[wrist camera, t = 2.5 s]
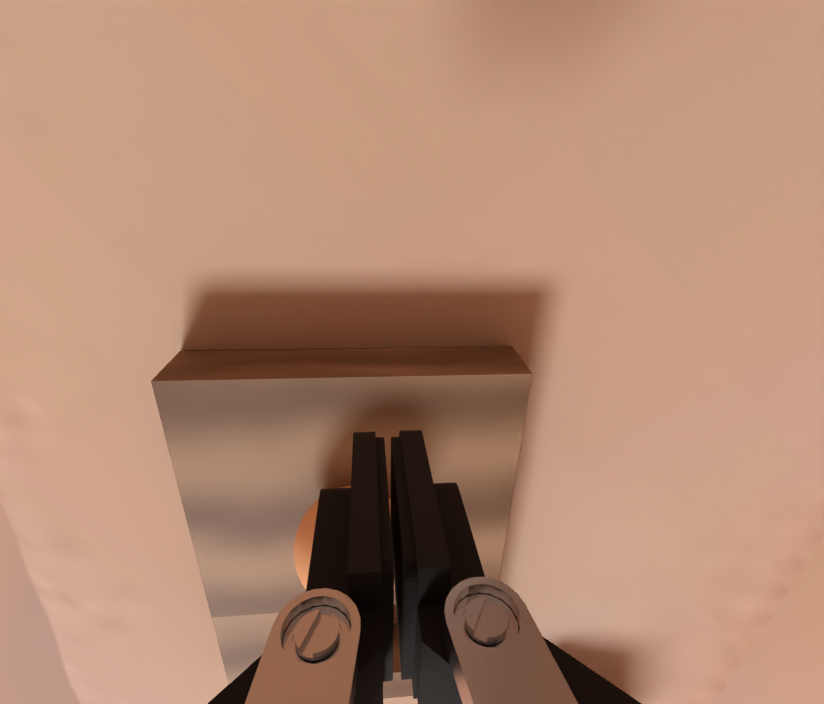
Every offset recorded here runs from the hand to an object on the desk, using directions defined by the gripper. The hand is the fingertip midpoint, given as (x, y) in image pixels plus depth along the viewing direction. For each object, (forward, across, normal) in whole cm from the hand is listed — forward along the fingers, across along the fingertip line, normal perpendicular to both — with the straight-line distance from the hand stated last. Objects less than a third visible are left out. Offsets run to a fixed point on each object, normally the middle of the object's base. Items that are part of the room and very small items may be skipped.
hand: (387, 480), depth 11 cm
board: (+11, +1, +13) cm, 17 cm away
